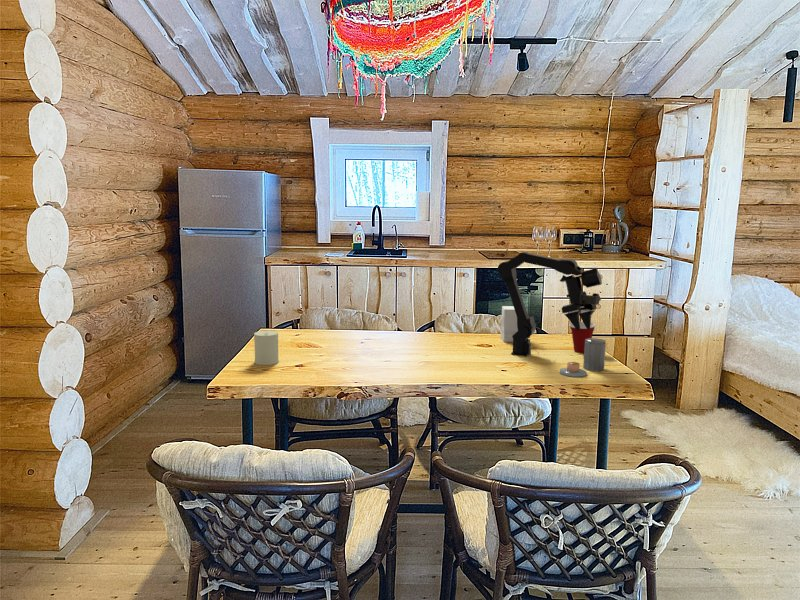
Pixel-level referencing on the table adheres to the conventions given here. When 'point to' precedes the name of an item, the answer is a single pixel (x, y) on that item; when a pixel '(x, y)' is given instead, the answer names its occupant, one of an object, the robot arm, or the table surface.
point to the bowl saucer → (581, 373)
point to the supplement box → (508, 323)
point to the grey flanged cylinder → (594, 354)
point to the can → (266, 347)
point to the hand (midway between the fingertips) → (583, 329)
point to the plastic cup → (581, 336)
